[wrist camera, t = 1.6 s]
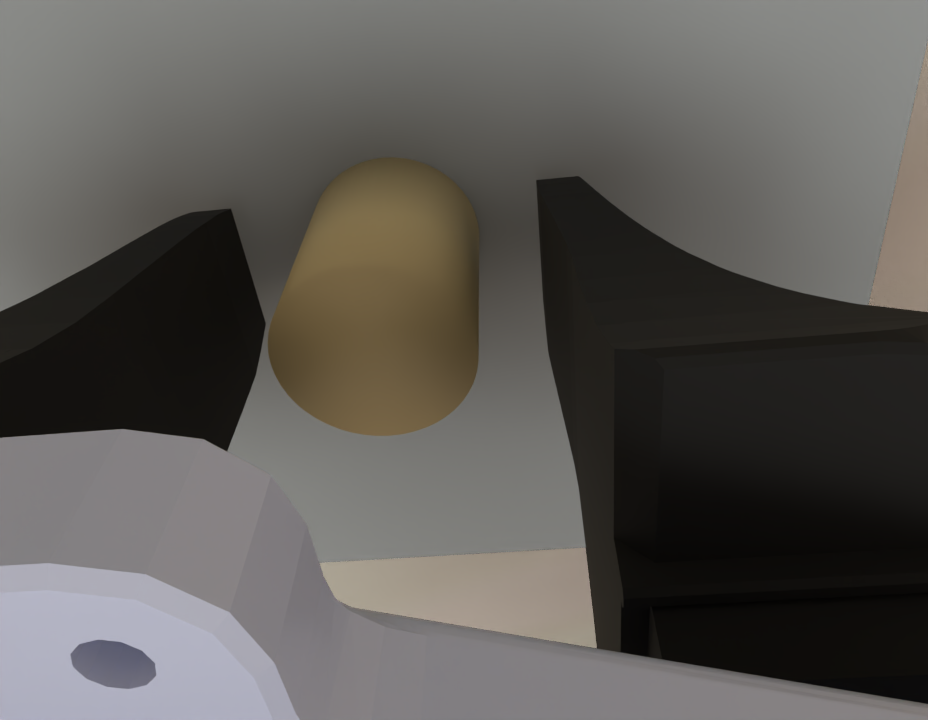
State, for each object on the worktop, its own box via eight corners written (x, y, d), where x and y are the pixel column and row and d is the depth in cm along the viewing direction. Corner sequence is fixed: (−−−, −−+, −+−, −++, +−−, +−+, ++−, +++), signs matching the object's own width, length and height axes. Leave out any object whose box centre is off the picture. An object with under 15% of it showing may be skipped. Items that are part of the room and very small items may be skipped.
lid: (803, 505, 17) (880, 677, 14) (124, 546, 18) (46, 713, 15) (1013, -523, 8) (1365, -725, 5) (-334, -314, 9) (-772, -366, 6)
